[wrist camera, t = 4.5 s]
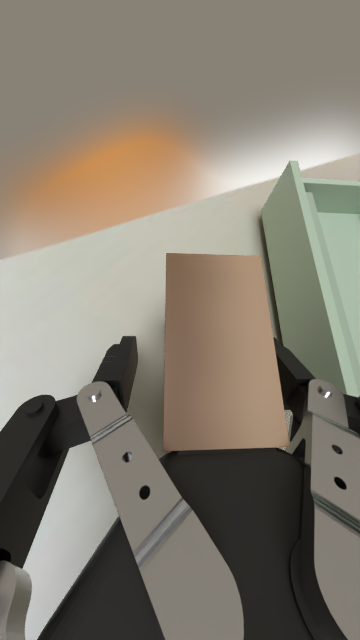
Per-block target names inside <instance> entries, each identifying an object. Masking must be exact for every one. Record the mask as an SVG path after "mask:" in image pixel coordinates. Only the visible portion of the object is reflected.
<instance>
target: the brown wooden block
mask: <svg viewBox="0 0 360 640" xmlns="http://www.w3.org/2000/svg"><path fill="white" fill-rule="evenodd" d="M274 447H290V444H289V438H288V431H287V425H286V418H285V411H284V405H283V398H282V392H281V385H280V378H279V372H278V365H277V359H276V352H275V346H274V339H273V332H272V326H271V319H270V313H269V306H268V299H267V293H266V286H265V280H264V273H263V267H262V260H261V256H241V255H209V254H177V253H166V306H165V366H164V427H163V451H183V450H213V449H244V448H274Z"/></svg>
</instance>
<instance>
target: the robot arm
mask: <svg viewBox="0 0 360 640" xmlns="http://www.w3.org/2000/svg"><path fill="white" fill-rule="evenodd" d="M273 339H274V346H275V352H276V359H277V365H278V372H279V378H280V385H281V392H282V398H283V405H284V410H291V411H292V415H291V417H290V424H289V431H288V438H289V444H290V447H286V449H285V451H284V450H282V449H279V448H276V447H274V448H244V449H213V450H183V451H171V452H169V453H167V454H166V455H164V456H163V457H161V458H160V459H159V460H158V458H157V456H156V455H155V453H154V452H153V450H152V448H151V447H150V445H149V443H148V442H147V440H146V439H145V437H144V435H143V434H142V432H141V430H140V429H139V427H138V426H137V424H136V422H135V421H134V419H133V418H132V417H131V416H130V415H129V416H128V415H127V414H126V412H127V408H128V403H129V399H130V395H131V390H132V386H133V382H134V377H135V373H136V368H137V364H138V353H137V342H136V337H135V336H123V337H122V339H121V342H120V344H114V345H113V346H111V347H110V348H109V349H108V350H107V352H106V355H105V357H104V359H103V361H102V363H101V365H100V367H99V369H98V371H97V373H96V375H95V377H94V379H93V381H92V383H90V384H88V385H86V386H85V387H84V388H82V389H81V390H80V392H79V393H78V395H76V396H73V397H69V398H66V399H62V400H58V401H55V399H54V397H52V396H50V395H40V396H36V397H34V398H32V399H30V400H28V401H26V402H25V403H23V404H22V405H21V406H20V407H19V408H18V409H17V410H16V412H15V413H14V414H13V416H12V417H11V418H10V420H9V421H8V422H7V424H6V425H5V426H4V428H3V429H2V430H1V432H0V640H25V621H26V615H27V611H28V607H29V603H30V599H31V592H32V583H31V578H30V575H29V574H28V573H27V572H26V571H25V570H23V569H22V568H23V566H24V563H25V561H26V558H27V556H28V553H29V551H30V548H31V545H32V543H33V540H34V538H35V535H36V533H37V530H38V528H39V525H40V522H41V520H42V517H43V515H44V512H45V510H46V507H47V504H48V502H49V499H50V497H51V494H52V492H53V489H54V487H55V484H56V481H57V479H58V476H59V474H60V471H61V469H62V466H63V463H64V461H65V458H66V456H67V453H68V451H69V448H71V447H74V446H77V445H80V444H82V443H85V442H88V441H92V444H93V447H94V449H95V452H96V455H97V457H98V460H99V463H100V465H101V468H102V471H103V473H104V476H105V479H106V482H107V484H108V487H109V490H110V492H111V495H112V498H113V500H114V503H115V506H116V509H117V511H118V514H119V516H118V518H117V519H116V521H115V522H114V524H113V525H112V527H111V528H110V530H109V531H108V533H107V534H106V536H105V537H104V539H103V540H102V542H101V543H100V545H99V546H98V548H97V549H96V551H95V552H94V554H93V555H92V557H91V558H90V560H89V561H88V563H87V564H86V566H85V567H84V569H83V570H82V572H81V573H80V575H79V576H78V578H77V579H76V581H75V582H74V584H73V585H72V587H71V588H70V590H69V591H68V593H67V594H66V596H65V597H64V599H63V600H62V602H61V603H60V605H59V606H58V608H57V609H56V611H55V612H54V614H53V615H52V617H51V618H50V620H49V621H48V623H47V624H46V626H45V627H44V629H43V631H42V632H41V634H40V636H39V638H38V639H37V640H360V396H359V397H355V396H350V395H346V394H342V392H341V391H340V390H339V389H338V388H337V387H335V386H334V385H332V384H330V383H328V382H326V381H323V380H319V379H316V378H315V377H314V376H313V375H312V374H311V372H310V371H309V370H308V369H307V368H306V367H305V366H304V365H303V364H302V363H301V362H300V361H299V360H298V358H297V357H295V355H294V354H293V353H292V352H291V351H290V350H289V349H287V348H286V347H284V346H283V345H280V344H279V342H278V341H277V340H276V339H275V338H274V337H273Z"/></svg>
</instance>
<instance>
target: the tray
mask: <svg viewBox="0 0 360 640" xmlns="http://www.w3.org/2000/svg"><path fill="white" fill-rule="evenodd" d="M261 214H262V220H263V226H264V232H265V238H266V244H267V250H268V256H269V262H270V268H271V274H272V280H273V286H274V292H275V298H276V305H277V311H278V317H279V323H280V329H281V335H282V341H283V346H284V347H286V348H287V349H289V350H290V351H291V352H292V353H293V354H294V355H295V357H297V358H298V360H299V361H300V362H301V363H302V364H303V365H304V366H305V367H306V368H307V369H308V370H309V371H310V372H311V374H312V375H313V376H314V377H315V378H316V379H319V380H323V381H326V382H328V383H330V384H332V385H334V386H335V387H337V388H338V389H339V390H340V391H341V392H342V394H346V395H350V396H355V397H359V396H360V181H348V180H331V179H314V178H302V176H301V172H300V168H299V164H298V161H289V163H288V165H287V167H286V169H285V170H284V172H283V173H282V175H281V177H280V179H279V180H278V182H277V184H276V186H275V187H274V189H273V191H272V193H271V194H270V196H269V198H268V200H267V201H266V203H265V205H264V207H263V208H262V210H261Z"/></svg>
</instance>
